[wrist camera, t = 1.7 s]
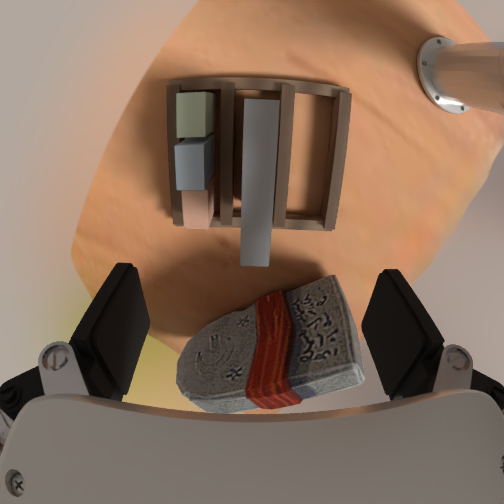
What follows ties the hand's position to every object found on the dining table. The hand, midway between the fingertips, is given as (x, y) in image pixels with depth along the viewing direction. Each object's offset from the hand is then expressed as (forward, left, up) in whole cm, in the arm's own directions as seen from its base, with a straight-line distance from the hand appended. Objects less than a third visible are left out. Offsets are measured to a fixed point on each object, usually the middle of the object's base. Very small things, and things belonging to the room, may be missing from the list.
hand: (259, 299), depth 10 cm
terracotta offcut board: (+7, +5, -29) cm, 30 cm away
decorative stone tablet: (-2, +27, -29) cm, 39 cm away
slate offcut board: (+7, 0, -29) cm, 29 cm away
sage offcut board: (+7, -6, -29) cm, 30 cm away
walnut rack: (0, 0, -29) cm, 29 cm away
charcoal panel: (0, 0, -29) cm, 29 cm away
